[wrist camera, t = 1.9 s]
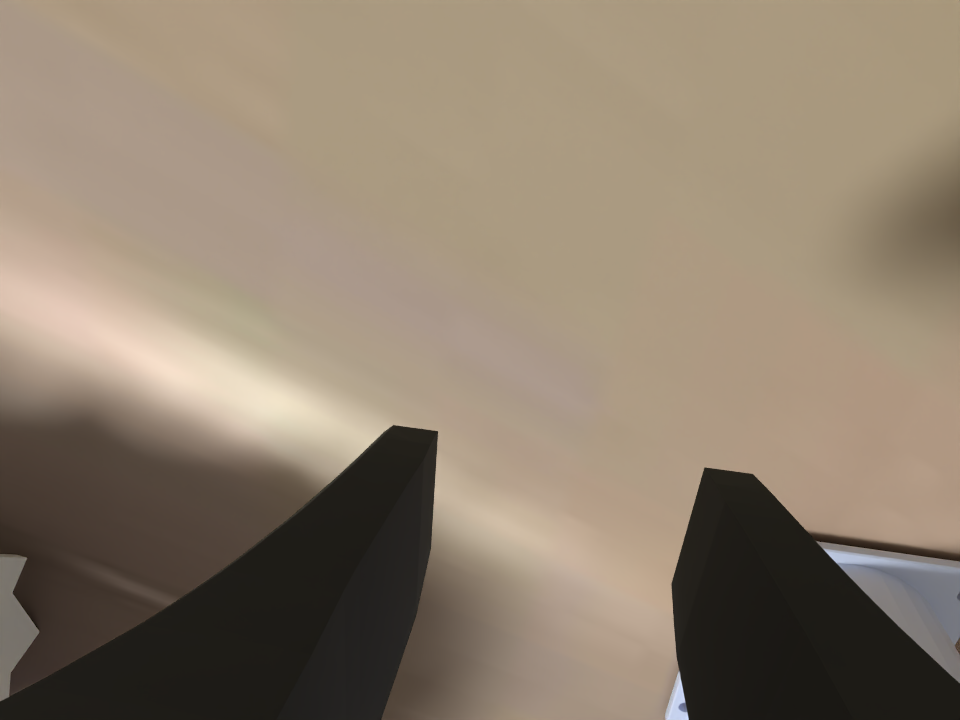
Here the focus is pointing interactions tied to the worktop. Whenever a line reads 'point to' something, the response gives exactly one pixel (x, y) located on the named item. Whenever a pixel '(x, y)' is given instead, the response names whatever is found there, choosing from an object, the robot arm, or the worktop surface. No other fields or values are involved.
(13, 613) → the spiral staircase
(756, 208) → the worktop surface
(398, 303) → the worktop surface
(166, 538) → the worktop surface
